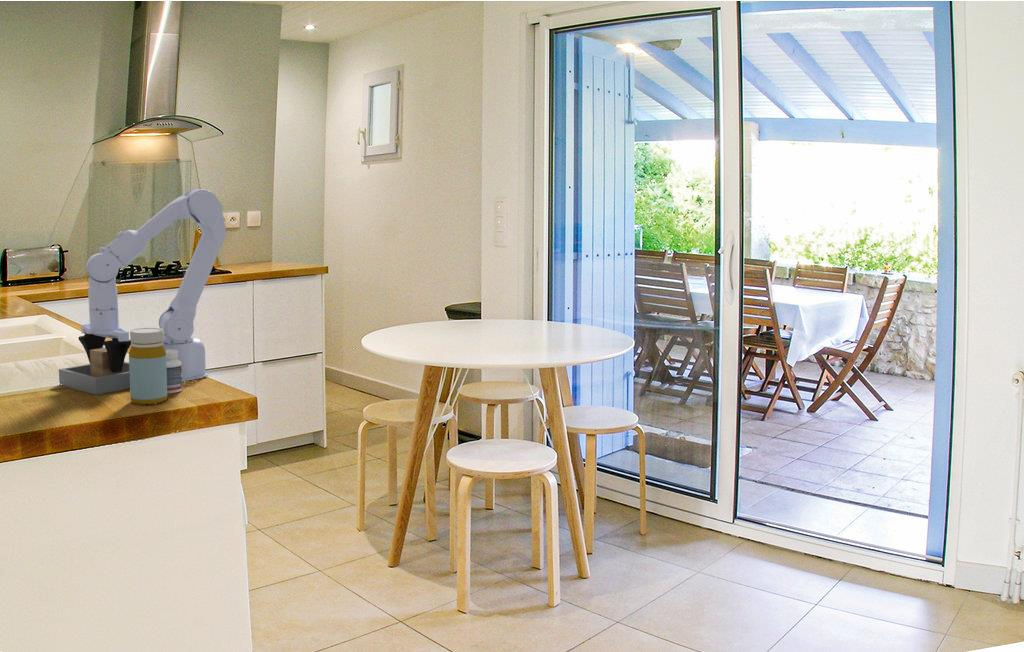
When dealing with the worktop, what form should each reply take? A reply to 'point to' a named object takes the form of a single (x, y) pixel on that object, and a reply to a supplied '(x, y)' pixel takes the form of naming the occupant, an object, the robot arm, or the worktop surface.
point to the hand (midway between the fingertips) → (106, 369)
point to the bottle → (147, 366)
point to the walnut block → (100, 363)
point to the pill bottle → (173, 371)
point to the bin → (94, 379)
